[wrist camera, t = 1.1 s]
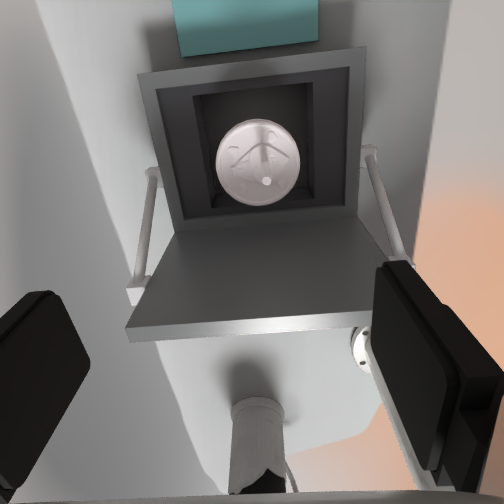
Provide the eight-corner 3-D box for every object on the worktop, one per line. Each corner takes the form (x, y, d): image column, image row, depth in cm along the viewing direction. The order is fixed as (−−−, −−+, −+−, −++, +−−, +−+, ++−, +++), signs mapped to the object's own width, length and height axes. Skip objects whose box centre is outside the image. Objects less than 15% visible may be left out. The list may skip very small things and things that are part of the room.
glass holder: (260, 388, 50) (261, 501, 37) (315, 432, 55) (333, 545, 42) (219, 412, 53) (207, 524, 40) (274, 451, 58) (280, 563, 45)
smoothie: (294, 166, 34) (316, 218, 21) (235, 180, 35) (223, 238, 22) (282, 100, 31) (299, 116, 18) (217, 117, 32) (192, 144, 19)
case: (367, 48, 29) (511, 12, 12) (358, 211, 36) (442, 323, 20) (137, 75, 30) (-4, 76, 14) (174, 228, 37) (109, 346, 21)
